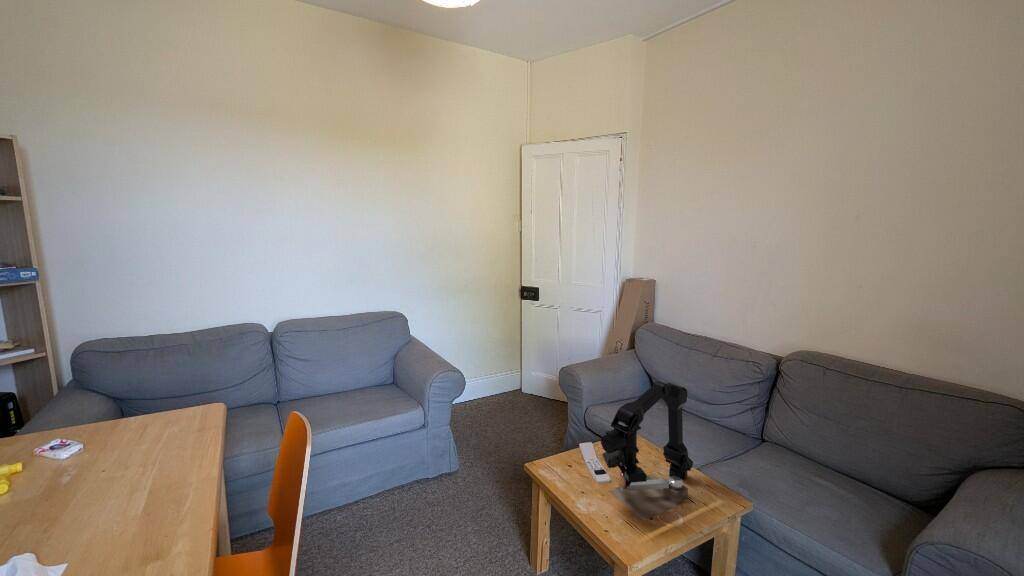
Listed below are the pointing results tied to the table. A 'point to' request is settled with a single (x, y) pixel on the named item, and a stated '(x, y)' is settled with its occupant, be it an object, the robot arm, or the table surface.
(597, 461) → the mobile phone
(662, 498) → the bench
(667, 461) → the robot arm
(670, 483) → the lever
